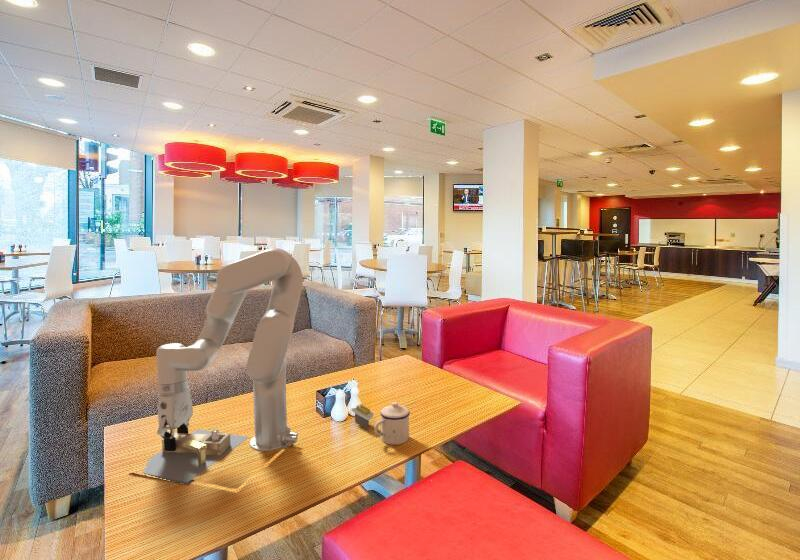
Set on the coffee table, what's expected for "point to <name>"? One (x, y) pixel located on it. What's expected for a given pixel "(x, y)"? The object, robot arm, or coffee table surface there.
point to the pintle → (215, 435)
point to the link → (212, 447)
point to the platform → (362, 416)
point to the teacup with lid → (394, 424)
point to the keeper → (197, 449)
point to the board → (185, 462)
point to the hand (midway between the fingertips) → (176, 444)
